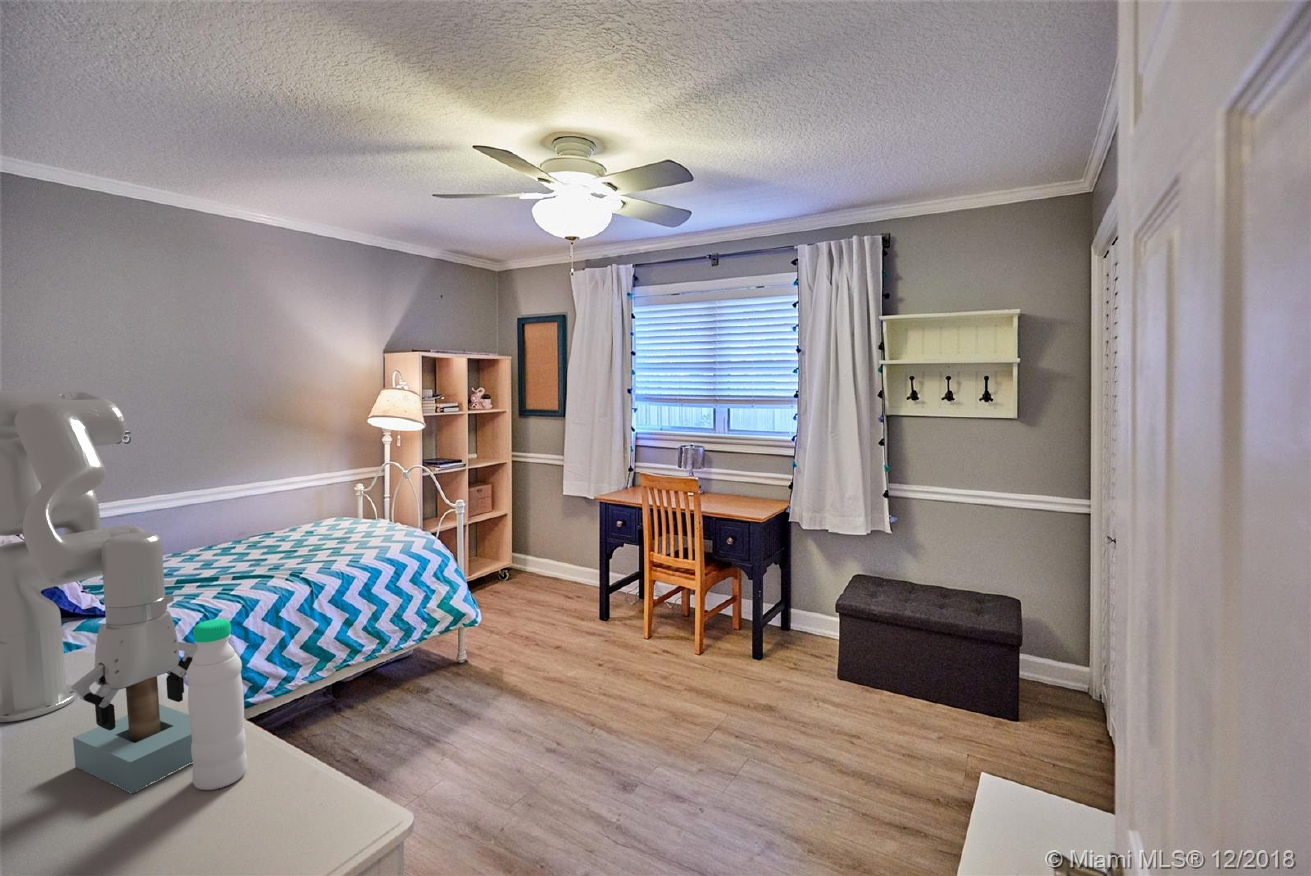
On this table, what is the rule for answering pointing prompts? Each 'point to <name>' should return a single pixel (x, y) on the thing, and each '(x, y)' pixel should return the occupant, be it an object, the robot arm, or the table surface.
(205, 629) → the water bottle
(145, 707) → the peg
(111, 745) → the socket block
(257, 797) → the table surface
